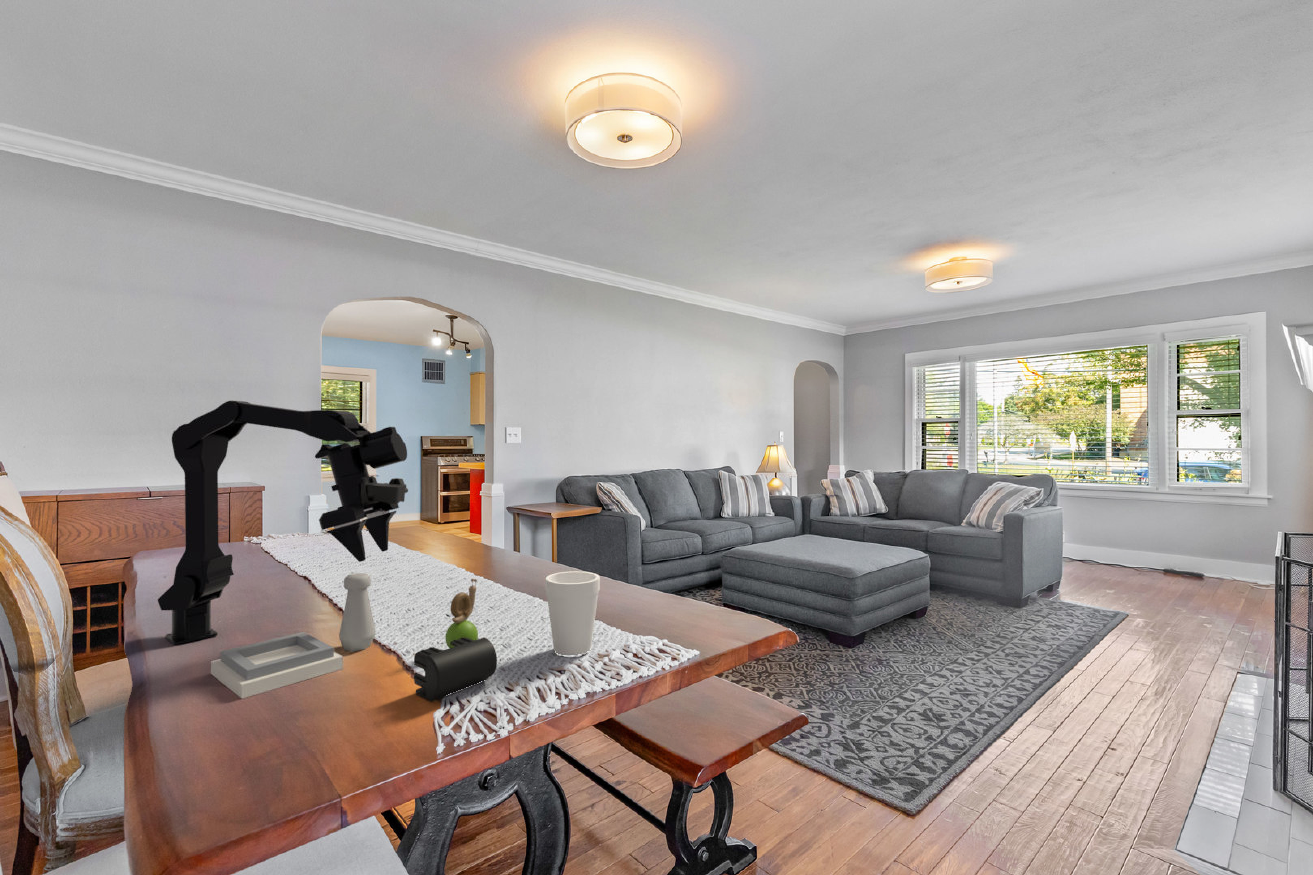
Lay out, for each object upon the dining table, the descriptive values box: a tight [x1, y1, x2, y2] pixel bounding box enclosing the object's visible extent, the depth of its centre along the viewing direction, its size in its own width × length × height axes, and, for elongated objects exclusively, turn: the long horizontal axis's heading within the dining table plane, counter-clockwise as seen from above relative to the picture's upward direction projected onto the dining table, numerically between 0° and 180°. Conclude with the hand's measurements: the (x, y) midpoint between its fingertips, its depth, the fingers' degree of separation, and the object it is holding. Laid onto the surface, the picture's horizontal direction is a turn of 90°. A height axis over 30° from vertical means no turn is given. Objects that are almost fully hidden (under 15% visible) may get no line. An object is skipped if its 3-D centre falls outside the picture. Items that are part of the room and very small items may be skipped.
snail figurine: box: [444, 578, 479, 649], centre depth 104 cm, size 5×6×12 cm
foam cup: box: [544, 570, 601, 655], centre depth 104 cm, size 10×9×13 cm
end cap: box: [413, 637, 498, 703], centre depth 88 cm, size 10×7×7 cm
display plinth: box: [210, 631, 344, 699], centre depth 95 cm, size 14×14×4 cm
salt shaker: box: [338, 572, 377, 652], centre depth 105 cm, size 6×6×13 cm
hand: (374, 555), depth 111 cm, fingers open, 9 cm apart
